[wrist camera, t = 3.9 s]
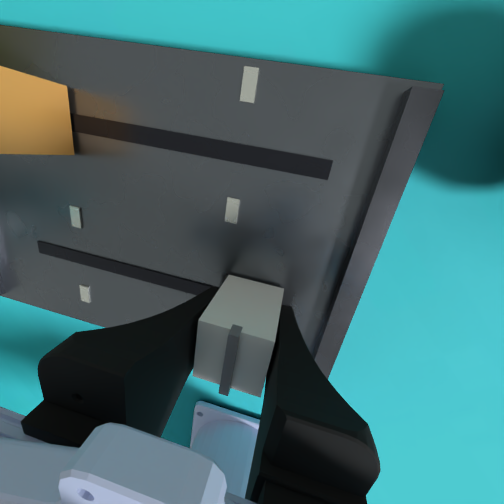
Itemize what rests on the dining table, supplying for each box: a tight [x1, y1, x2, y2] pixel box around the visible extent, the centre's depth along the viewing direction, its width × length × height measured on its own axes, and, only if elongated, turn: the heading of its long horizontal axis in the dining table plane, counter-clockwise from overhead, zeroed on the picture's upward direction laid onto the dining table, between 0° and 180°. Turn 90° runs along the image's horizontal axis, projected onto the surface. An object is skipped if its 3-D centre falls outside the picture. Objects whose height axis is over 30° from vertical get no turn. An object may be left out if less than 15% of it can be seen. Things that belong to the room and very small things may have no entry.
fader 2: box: [193, 275, 284, 397], centre depth 11 cm, size 3×3×4 cm
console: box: [0, 25, 444, 379], centre depth 13 cm, size 16×24×2 cm, turn 80°
